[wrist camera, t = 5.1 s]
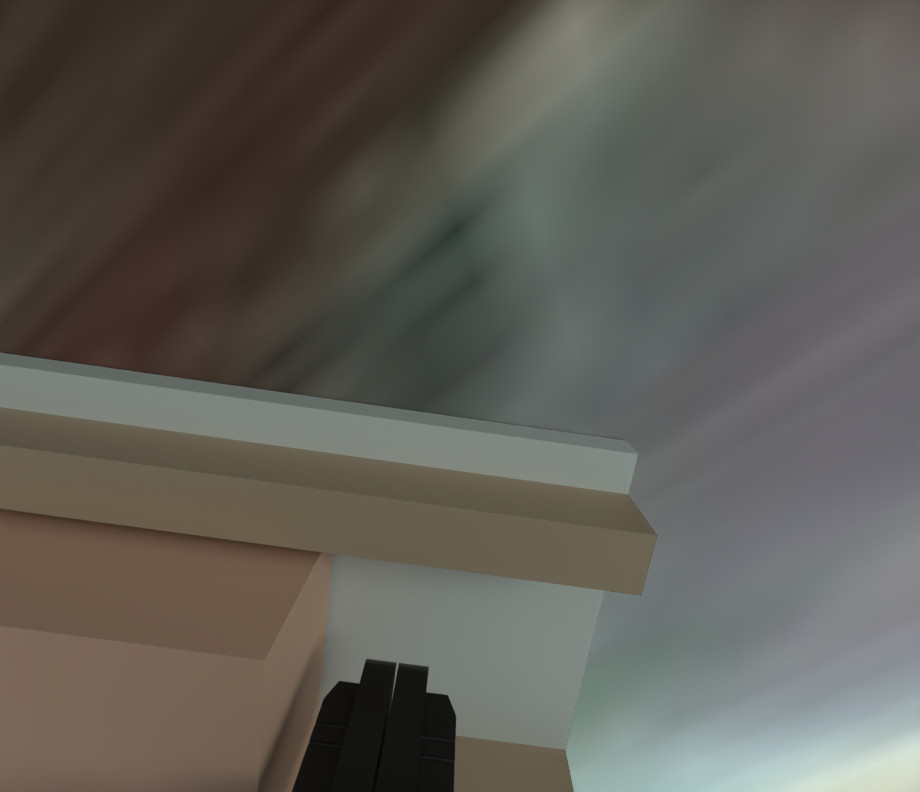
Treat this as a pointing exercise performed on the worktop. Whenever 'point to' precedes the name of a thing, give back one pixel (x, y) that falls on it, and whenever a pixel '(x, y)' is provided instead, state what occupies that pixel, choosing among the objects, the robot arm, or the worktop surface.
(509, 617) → the chute
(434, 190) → the worktop surface
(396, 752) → the robot arm
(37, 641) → the block
